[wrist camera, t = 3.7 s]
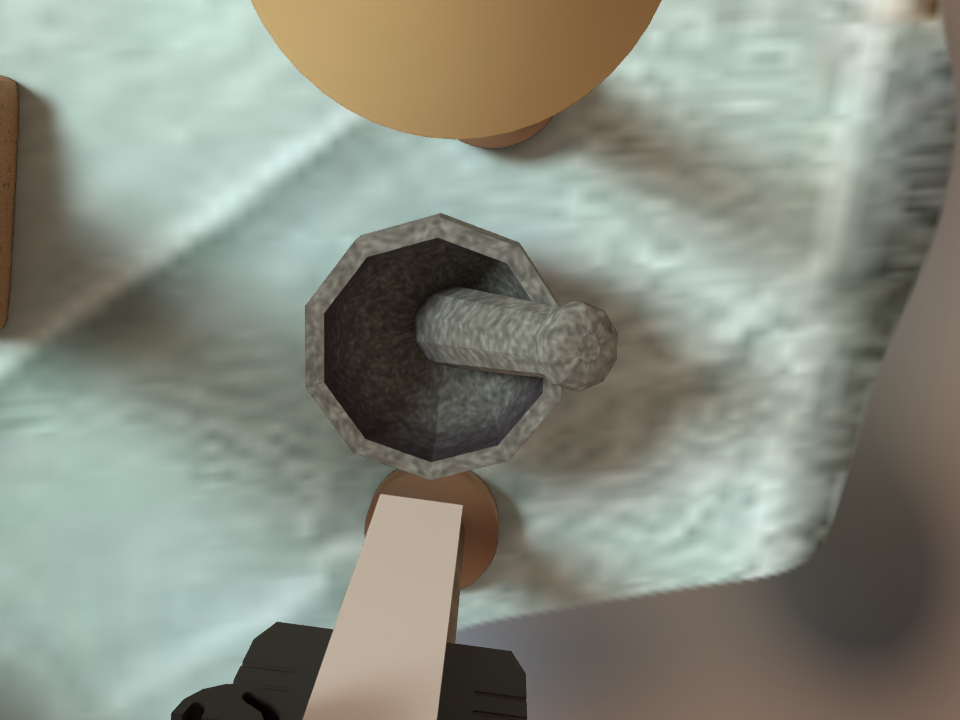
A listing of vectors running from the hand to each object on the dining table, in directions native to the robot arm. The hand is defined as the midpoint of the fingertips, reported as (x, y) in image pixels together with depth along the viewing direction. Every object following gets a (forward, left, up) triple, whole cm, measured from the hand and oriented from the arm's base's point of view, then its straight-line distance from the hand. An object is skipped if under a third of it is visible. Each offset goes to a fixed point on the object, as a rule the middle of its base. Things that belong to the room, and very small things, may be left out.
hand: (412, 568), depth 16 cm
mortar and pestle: (0, 0, -24) cm, 24 cm away
